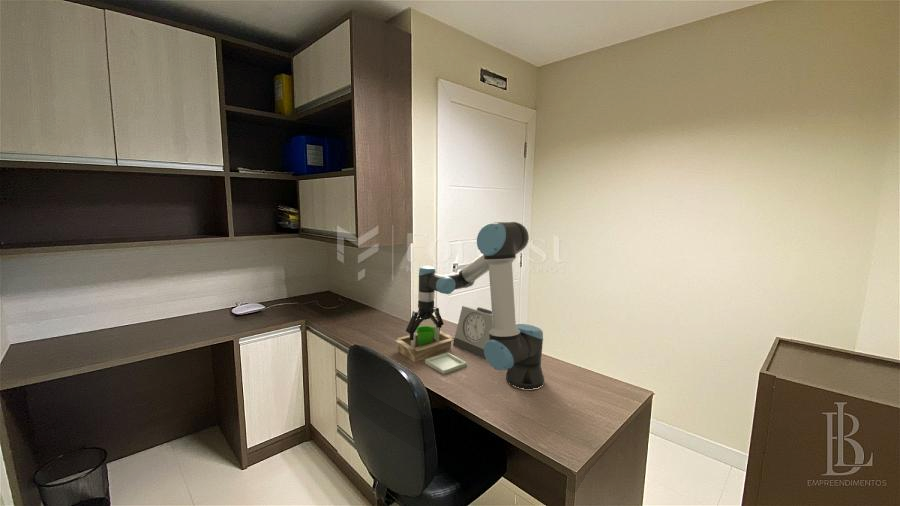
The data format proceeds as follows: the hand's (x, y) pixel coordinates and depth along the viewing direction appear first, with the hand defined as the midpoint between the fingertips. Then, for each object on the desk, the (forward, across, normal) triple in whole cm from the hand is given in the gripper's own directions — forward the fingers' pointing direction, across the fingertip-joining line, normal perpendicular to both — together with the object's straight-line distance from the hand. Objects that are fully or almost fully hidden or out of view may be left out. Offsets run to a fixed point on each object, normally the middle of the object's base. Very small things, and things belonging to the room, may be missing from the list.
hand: (424, 342), depth 173 cm
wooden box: (+4, 0, 0) cm, 4 cm away
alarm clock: (+4, -24, +12) cm, 27 cm away
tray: (+4, +1, +17) cm, 18 cm away
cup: (+4, 0, 0) cm, 4 cm away
